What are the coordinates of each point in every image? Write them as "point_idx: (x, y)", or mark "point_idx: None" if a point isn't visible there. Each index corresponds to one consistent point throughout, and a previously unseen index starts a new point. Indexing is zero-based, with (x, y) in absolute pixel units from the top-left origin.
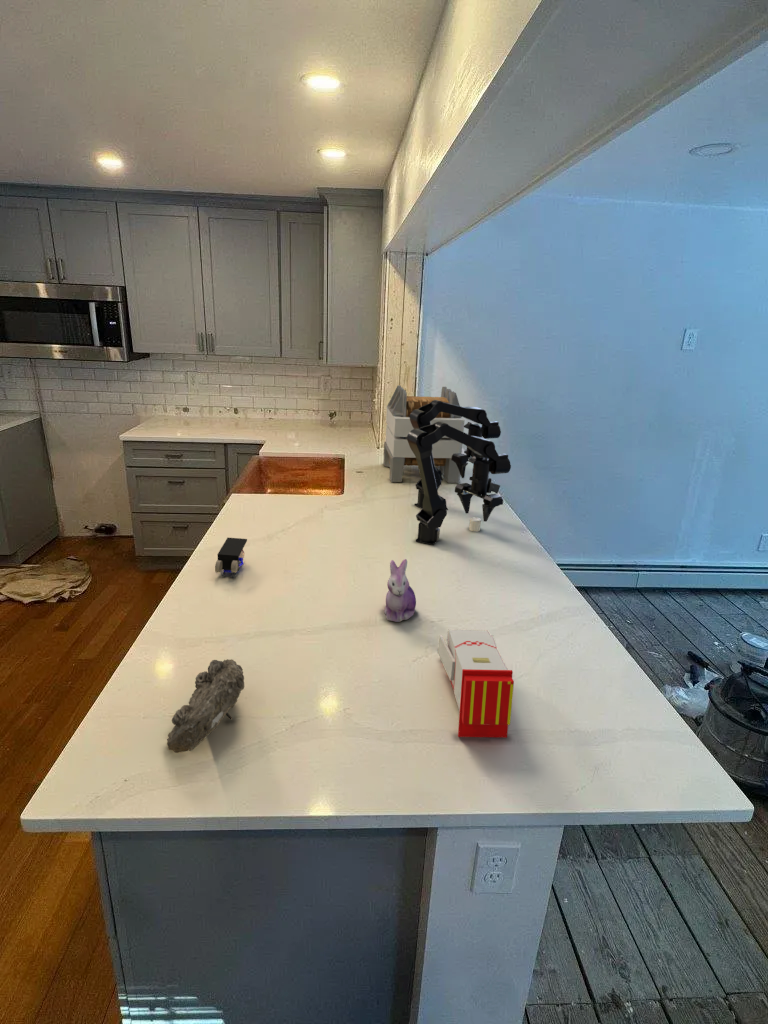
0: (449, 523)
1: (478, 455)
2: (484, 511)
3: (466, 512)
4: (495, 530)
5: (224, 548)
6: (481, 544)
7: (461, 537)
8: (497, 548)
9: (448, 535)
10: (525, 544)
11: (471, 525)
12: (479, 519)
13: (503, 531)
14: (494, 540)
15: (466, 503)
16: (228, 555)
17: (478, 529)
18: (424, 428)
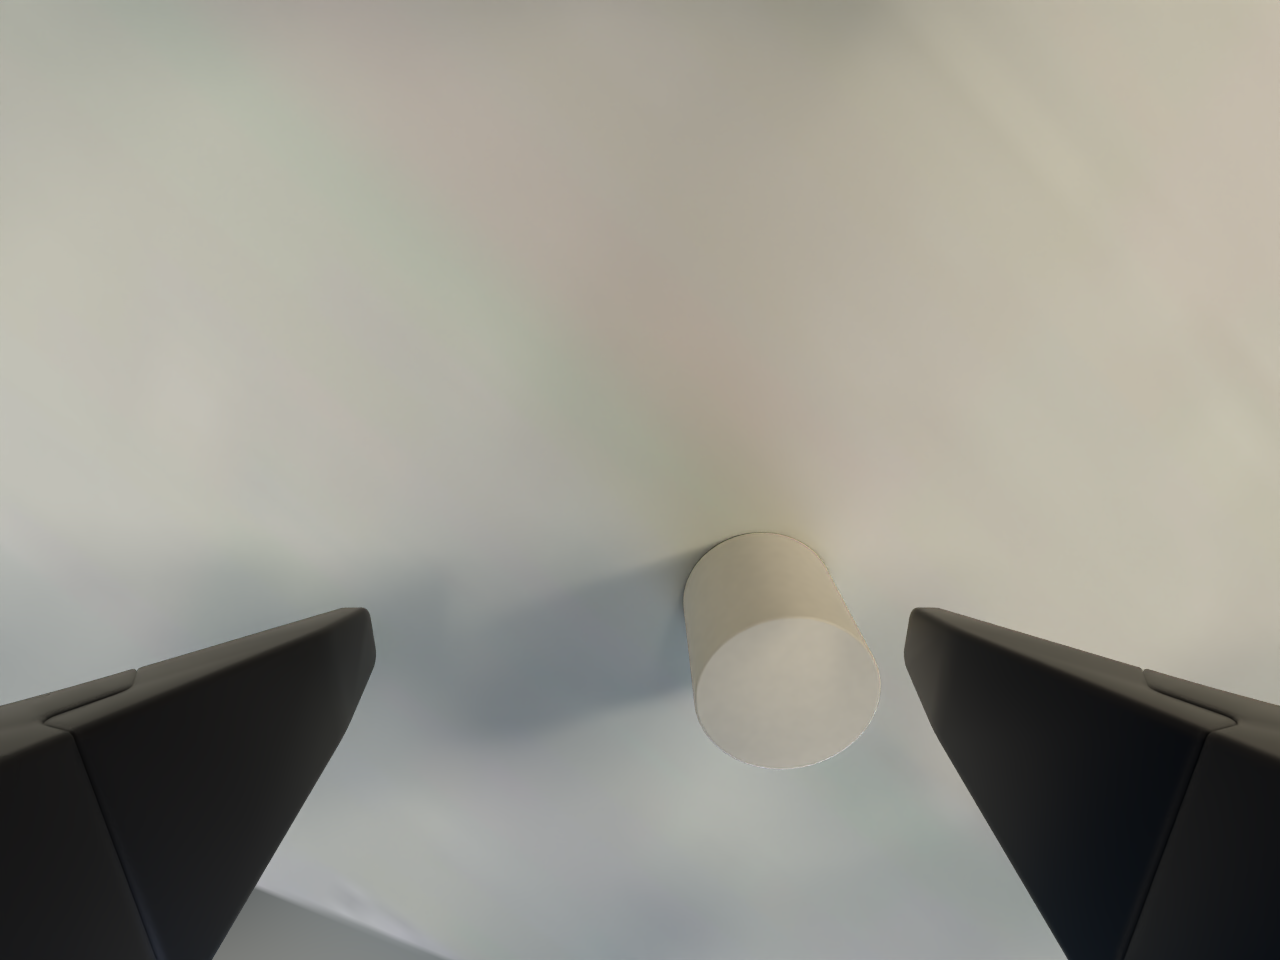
0: (1143, 461)
1: None
2: (45, 705)
3: (921, 622)
4: (600, 783)
5: None
6: (281, 311)
7: (636, 228)
8: (81, 411)
9: (815, 82)
10: None
11: (768, 571)
12: (744, 739)
13: (531, 831)
14: (340, 567)
15: (1064, 776)
16: None
17: (684, 613)
18: None
